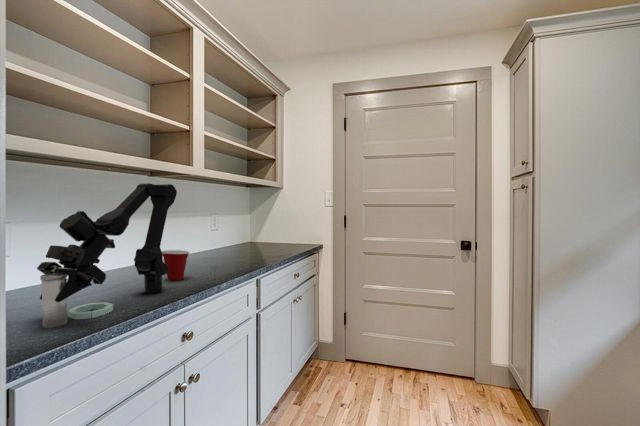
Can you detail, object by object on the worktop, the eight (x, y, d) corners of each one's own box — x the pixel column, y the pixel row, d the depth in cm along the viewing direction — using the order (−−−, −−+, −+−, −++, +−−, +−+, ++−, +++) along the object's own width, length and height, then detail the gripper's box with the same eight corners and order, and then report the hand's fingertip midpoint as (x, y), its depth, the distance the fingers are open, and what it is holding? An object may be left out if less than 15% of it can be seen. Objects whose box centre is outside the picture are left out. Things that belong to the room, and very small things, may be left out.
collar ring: (80, 308, 98) (80, 303, 98) (117, 306, 100) (117, 301, 100) (61, 320, 88) (61, 314, 88) (103, 317, 90) (103, 312, 90)
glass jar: (49, 321, 87) (48, 273, 87) (72, 319, 88) (71, 272, 88) (36, 329, 82) (35, 277, 81) (61, 327, 83) (60, 276, 82)
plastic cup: (193, 279, 134) (193, 250, 134) (165, 283, 127) (164, 253, 127) (185, 275, 143) (185, 248, 142) (158, 278, 136) (158, 250, 136)
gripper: (43, 232, 91) (-4, 281, 80) (94, 234, 85) (50, 286, 75) (73, 256, 98) (32, 303, 88) (121, 259, 93) (84, 309, 83)
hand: (49, 300), depth 83 cm, fingers closed on glass jar, 5 cm apart
